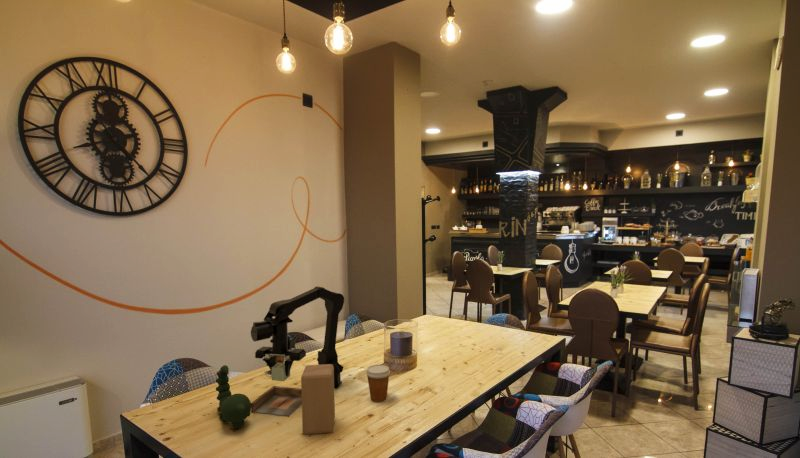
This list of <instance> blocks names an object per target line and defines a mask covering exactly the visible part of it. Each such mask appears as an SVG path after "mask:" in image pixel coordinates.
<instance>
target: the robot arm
mask: <svg viewBox="0 0 800 458" xmlns="http://www.w3.org/2000/svg"><path fill="white" fill-rule="evenodd" d="M318 299H320V300H323V301H324V307H325V311H326V322H325V331H324V332H325V333H324V340H323V347H322V348H321V350H318V351H317V359H316V361H317V363H318V364H317V365H323V364H332V365H333V366H334V390H336V389H339V387H340V386H341V385H342V384H343V381H341V379H342V378H341V374H342V373H343V370H344V366H343V365H342V364H340V363H339V360H338V359H339V355H338V351H337V348H336V346H337V345H336V343H337V335H338V324H339V316H340V312H341V311H342V310H343V308H344V303H345V296H344V295H343V294H342V293H338V292H336V291H330V290H329V289H326V288H325V287H323V286H319V285H317V286H314V287H313V288H311V289H309V290H307V291H305V292H303V293H300V294H298V295H296V296H293V297H291V298H289V299H282V300H278V301H275V302H272V303H271V304H270V306H269V308H268V311H267V312H266V315H265V316H264V318H263V320H261V321H255V322H253V323H252V326H251V330H250V336H251V339H252V341H253V342H258V341H263V340H267V339H270V338H271V339H270V343H271V345H272V346H261V347H259V348H258V349H256V350H255V352H254V358H255V359H262V361H263V362H265V364H266V365H267V366H268V367H269V370H271V371H272V368H271V367H273V366H274V365H276V357H277V356H284V357H286V358H287V359H285V360H284V363H285V373H286V376H288V375H289V372H290V373H291V369H292V366H293V364H294V362H299V361H300V362H301V360H302V359H304V358H306V356H307V351H306V350H305V349H304V348H296V341H297V340H296V339H291V337H290V335H289V334H288V333H289V332H288V324H290V323H293V322H294V321H293V320H292V319H291V317H290V315H292V314H293V313H294V312H295V311H296V310H298V308H301V307H303V306H305V305H307V304H310V303H311V302H314V301H315V300H318ZM271 347H273V350H272V348H271ZM291 349H293V350H291ZM290 350H291V351H290Z"/></svg>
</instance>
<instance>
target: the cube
mask: <svg viewBox="0 0 800 458" xmlns="http://www.w3.org/2000/svg"><path fill="white" fill-rule="evenodd" d="M271 368H272V376H271V381H275V382H285V381H287V380H288V379H289V378H290V377H291V371H290V372H289V375H288V376H286V373H285V363H277V364H276V365H274V366H273V367H271Z"/></svg>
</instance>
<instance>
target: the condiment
mask: <svg viewBox="0 0 800 458" xmlns="http://www.w3.org/2000/svg"><path fill="white" fill-rule="evenodd" d="M270 347H271V348H272V350H273V347H272V346H270ZM284 359H285V356H277V357H276V364H277V363H284V361H285V360H284ZM264 374H265V376H267V377H268V378H269V377H272V371H271V370H270V369H269V370H264Z"/></svg>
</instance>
